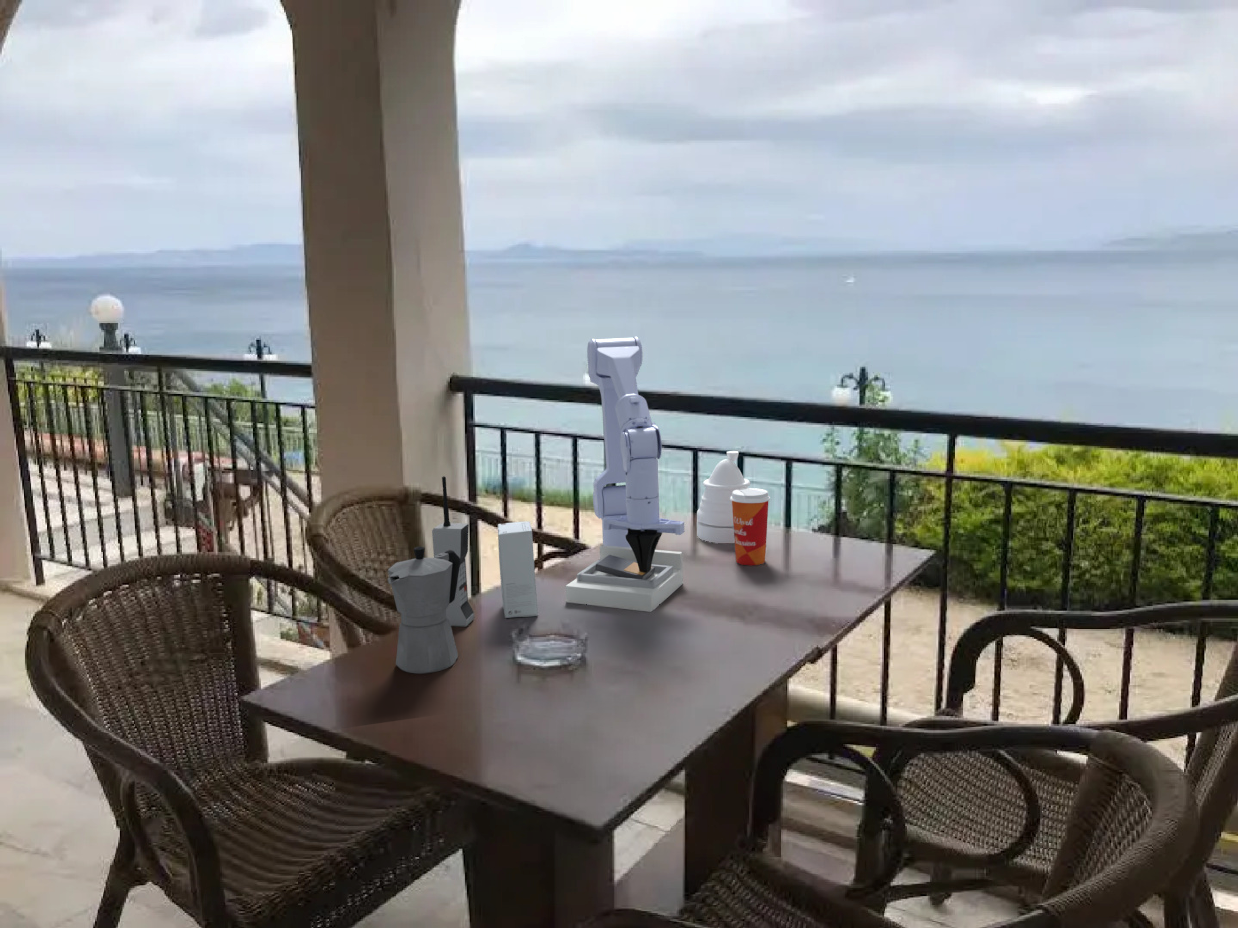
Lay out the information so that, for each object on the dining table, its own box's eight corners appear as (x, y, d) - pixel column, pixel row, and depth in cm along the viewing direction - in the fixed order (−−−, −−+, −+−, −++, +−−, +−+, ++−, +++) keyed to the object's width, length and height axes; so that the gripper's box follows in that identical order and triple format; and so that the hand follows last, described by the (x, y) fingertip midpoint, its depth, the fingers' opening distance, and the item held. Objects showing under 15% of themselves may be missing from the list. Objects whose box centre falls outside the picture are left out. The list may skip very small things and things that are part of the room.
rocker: (608, 560, 184) (609, 554, 183) (654, 573, 181) (655, 566, 180) (595, 570, 178) (596, 563, 178) (641, 583, 175) (642, 576, 175)
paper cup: (723, 559, 198) (722, 490, 196) (756, 553, 201) (756, 485, 199) (744, 569, 191) (744, 498, 189) (778, 563, 194) (778, 493, 192)
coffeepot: (422, 683, 143) (413, 562, 140) (373, 672, 148) (363, 554, 144) (487, 647, 156) (481, 535, 153) (440, 637, 161) (433, 529, 158)
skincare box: (538, 616, 169) (534, 531, 166) (502, 619, 169) (497, 533, 166) (535, 600, 177) (531, 519, 175) (501, 603, 177) (496, 521, 174)
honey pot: (726, 524, 224) (725, 445, 221) (769, 535, 215) (769, 452, 211) (684, 536, 216) (683, 453, 213) (728, 547, 207) (727, 461, 203)
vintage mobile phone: (467, 627, 165) (457, 478, 160) (438, 626, 166) (428, 478, 161) (474, 619, 169) (465, 474, 164) (446, 618, 170) (436, 473, 165)
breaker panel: (603, 575, 190) (602, 545, 189) (683, 583, 184) (682, 552, 183) (566, 602, 176) (564, 569, 175) (651, 611, 170) (650, 577, 169)
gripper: (595, 498, 174) (598, 573, 177) (673, 503, 169) (676, 580, 171) (611, 490, 181) (614, 562, 183) (687, 494, 175) (689, 569, 178)
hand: (645, 570), depth 178 cm, fingers closed, pressing on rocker
